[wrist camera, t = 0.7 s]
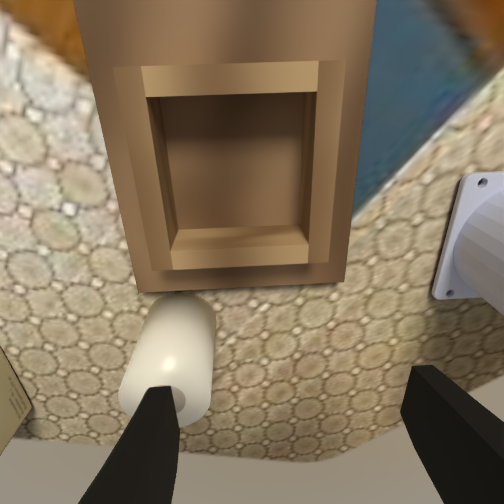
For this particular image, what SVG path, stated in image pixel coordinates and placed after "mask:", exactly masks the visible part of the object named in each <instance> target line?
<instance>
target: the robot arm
mask: <svg viewBox="0 0 504 504" xmlns="http://www.w3.org/2000/svg"><path fill="white" fill-rule="evenodd" d="M481 179H483V181H482V183H481V184H480V185H478V182H479V180H481ZM449 290H450V291H449ZM447 291H449V292H448V293H447ZM432 295H433V296H434V297H435V298H436V299H438V300H445V299H464V298H483V299H484V300H485V301H487V302H488V303H489V304H490V305H491V306H493V307H494V308H495V309H496V310H497V311H498V312H500V313H501V314H502V315H503V316H504V171H496V172H472V173H468V174H466V175H465V176H464V177H463V178H462V179H461V182H460V185H459V189H458V193H457V196H456V200H455V204H454V208H453V212H452V215H451V219H450V223H449V227H448V231H447V235H446V238H445V242H444V246H443V250H442V254H441V257H440V261H439V265H438V269H437V273H436V276H435V280H434V284H433V288H432ZM400 413H401V416H402V418H403V421H404V423H405V426H406V429H407V431H408V434H409V436H410V438H411V441H412V443H413V446H414V448H415V450H416V452H417V454H418V456H419V458H420V459H421V461H422V463H423V465H424V467H425V469H426V471H427V473H428V475H429V477H430V478H431V480H432V482H433V484H434V486H435V488H436V489H437V491H438V493H439V495H440V497H441V499H442V501H443V503H444V504H504V422H503V421H501V420H500V419H499V418H498V417H496V416H495V415H494V414H493V413H491V412H490V411H489V410H488V409H486V408H485V407H484V406H482V405H481V404H480V403H479V402H478V401H476V400H475V399H474V398H473V397H471V396H470V395H469V394H468V393H466V392H465V391H464V390H463V389H461V388H460V387H459V386H458V385H457V384H455V383H454V382H453V381H452V380H450V379H449V378H448V377H447V376H445V375H444V374H443V373H442V372H440V371H439V370H438V369H437V368H435V367H434V366H433V365H421V366H412V368H411V372H410V376H409V380H408V383H407V387H406V391H405V395H404V399H403V403H402V407H401V410H400ZM179 438H180V429H179V424H178V419H177V414H176V409H175V404H174V399H173V394H172V389H171V386H158V387H149V388H148V389H147V390H146V392H145V394H144V396H143V398H142V400H141V402H140V404H139V405H138V407H137V409H136V411H135V413H134V415H133V416H132V418H131V420H130V422H129V423H128V425H127V427H126V429H125V430H124V432H123V434H122V436H121V437H120V439H119V441H118V442H117V444H116V445H115V447H114V449H113V450H112V452H111V454H110V455H109V457H108V458H107V460H106V462H105V464H104V465H103V467H102V468H101V470H100V471H99V473H98V474H97V476H96V477H95V479H94V480H93V482H92V483H91V485H90V486H89V488H88V489H87V491H86V492H85V494H84V495H83V497H82V498H81V500H80V501H79V503H78V504H171V501H172V496H173V490H174V484H175V478H176V473H177V463H178V452H179Z"/></svg>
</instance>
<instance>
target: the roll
mask: <svg viewBox="0 0 504 504" xmlns="http://www.w3.org/2000/svg"><path fill="white" fill-rule="evenodd" d="M215 332H216V315H215V312H214V310H213V308H212V307H211V306H210V305H209V303H208V302H206V301H205V300H204V299H202V298H201V297H199V296H196V295H194V294H190V293H184V292H176V293H170V294H167V295H164V296H162V297H160V298H159V299H157V300H156V301H155V302H154V303H153V304H152V305H151V307H150V309H149V312H148V314H147V317H146V320H145V322H144V325H143V328H142V330H141V333H140V335H139V338H138V341H137V343H136V346H135V349H134V351H133V354H132V357H131V359H130V362H129V365H128V367H127V370H126V373H125V375H124V378H123V381H122V383H121V386H120V388H119V392H118V399H119V403H120V406H121V407H122V409H123V410H124V412H125V413H126V414H127V415H128V416H129V417H131V418H132V416H133V415H134V413H135V411H136V409H137V407H138V405H139V404H140V402H141V400H142V398H143V396H144V394H145V392H146V390H147V389H148V388H149V387H158V386H171V389H172V394H173V399H174V404H175V409H176V414H177V419H178V424H179V428H180V427H184V426H187V425H190V424H192V423H194V422H196V421H198V420H199V419H200V418H201V417H203V416H204V414H205V413H206V412H207V410H208V408H209V406H210V400H211V386H212V373H213V359H214V346H215Z"/></svg>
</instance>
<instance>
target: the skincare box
mask: <svg viewBox="0 0 504 504" xmlns="http://www.w3.org/2000/svg"><path fill="white" fill-rule="evenodd" d="M31 408H32V406H31V404H30V402H29V400H28V398H27V396H26V394H25V392H24V390H23V388H22V386H21V385H20V383H19V381H18V379H17V377H16V375H15V373H14V372H13V370H12V368H11V366H10V364H9V362H8V360H7V358H6V357H5V355H4V353H3V351H2V349H1V348H0V455H1V454H2V452H3V450H4V449H5V447H6V446H7V444H8V443H9V442H10V440H11V439H12V437H13V435H14V434H15V433H16V431H17V429H18V428H19V426H20V425H21V423H22V422H23V420H24V419H25V417H26V416H27V414H28V413H29V411H30V410H31Z"/></svg>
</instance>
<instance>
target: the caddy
mask: <svg viewBox="0 0 504 504" xmlns="http://www.w3.org/2000/svg"><path fill="white" fill-rule="evenodd" d="M73 2H74V7H75V11H76V16H77V20H78V25H79V29H80V34H81V38H82V43H83V47H84V52H85V56H86V61H87V65H88V69H89V74H90V78H91V83H92V87H93V92H94V96H95V101H96V105H97V110H98V114H99V119H100V123H101V128H102V132H103V137H104V141H105V146H106V150H107V155H108V159H109V164H110V168H111V173H112V177H113V181H114V186H115V190H116V195H117V199H118V204H119V208H120V213H121V217H122V222H123V226H124V231H125V235H126V240H127V244H128V249H129V253H130V258H131V262H132V267H133V271H134V276H135V280H136V285H137V289H138V293H143V292H162V291H181V290H201V289H220V288H239V287H258V286H278V285H297V284H316V283H335V282H344V279H345V270H346V261H347V253H348V244H349V235H350V227H351V218H352V210H353V201H354V192H355V184H356V175H357V166H358V158H359V149H360V140H361V132H362V123H363V114H364V106H365V97H366V89H367V80H368V71H369V63H370V54H371V45H372V37H373V28H374V19H375V11H376V2H377V0H73Z"/></svg>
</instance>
